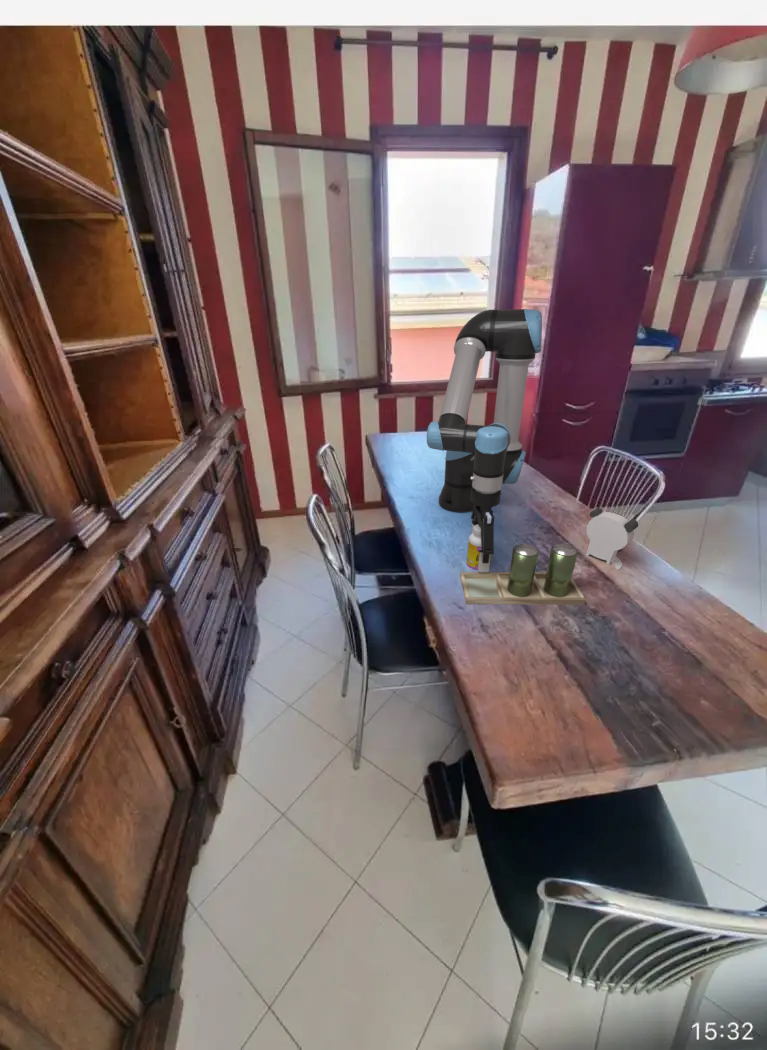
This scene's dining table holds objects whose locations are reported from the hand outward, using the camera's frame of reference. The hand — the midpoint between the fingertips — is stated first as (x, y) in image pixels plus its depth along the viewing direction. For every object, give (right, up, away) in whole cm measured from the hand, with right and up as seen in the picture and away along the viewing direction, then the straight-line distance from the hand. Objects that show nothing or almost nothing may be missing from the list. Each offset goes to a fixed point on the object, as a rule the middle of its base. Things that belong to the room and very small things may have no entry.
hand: (478, 557), depth 118 cm
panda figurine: (+36, -1, +3) cm, 36 cm away
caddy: (+8, -9, -9) cm, 15 cm away
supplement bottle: (0, -3, +2) cm, 4 cm away
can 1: (+8, -8, -10) cm, 15 cm away
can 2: (+18, -8, -10) cm, 22 cm away
